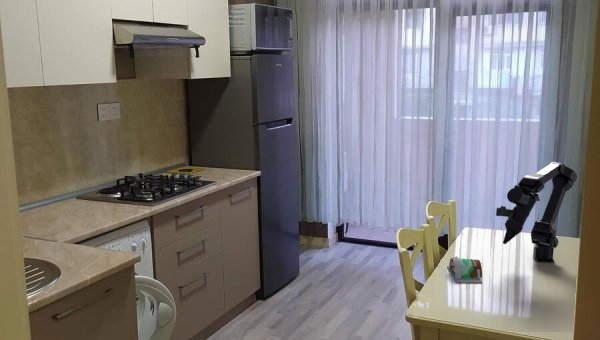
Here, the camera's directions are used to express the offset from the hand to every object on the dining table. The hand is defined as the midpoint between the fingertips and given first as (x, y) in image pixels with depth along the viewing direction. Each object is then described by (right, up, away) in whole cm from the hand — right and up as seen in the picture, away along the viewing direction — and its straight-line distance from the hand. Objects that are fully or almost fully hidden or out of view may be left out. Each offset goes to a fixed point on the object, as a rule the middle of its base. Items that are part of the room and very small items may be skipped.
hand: (503, 243), depth 218 cm
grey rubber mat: (-17, -11, -5) cm, 21 cm away
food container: (-11, -8, -5) cm, 14 cm away
